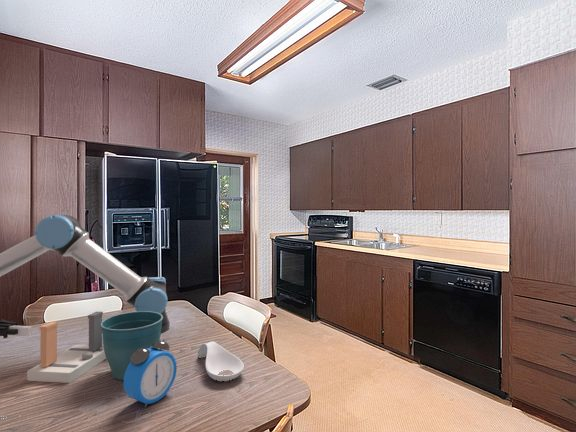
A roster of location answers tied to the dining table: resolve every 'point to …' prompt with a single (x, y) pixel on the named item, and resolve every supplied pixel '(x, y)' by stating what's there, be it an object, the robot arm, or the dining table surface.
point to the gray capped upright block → (95, 331)
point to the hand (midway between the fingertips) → (29, 331)
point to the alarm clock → (150, 373)
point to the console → (68, 365)
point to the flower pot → (128, 337)
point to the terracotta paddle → (48, 344)
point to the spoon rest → (220, 361)
